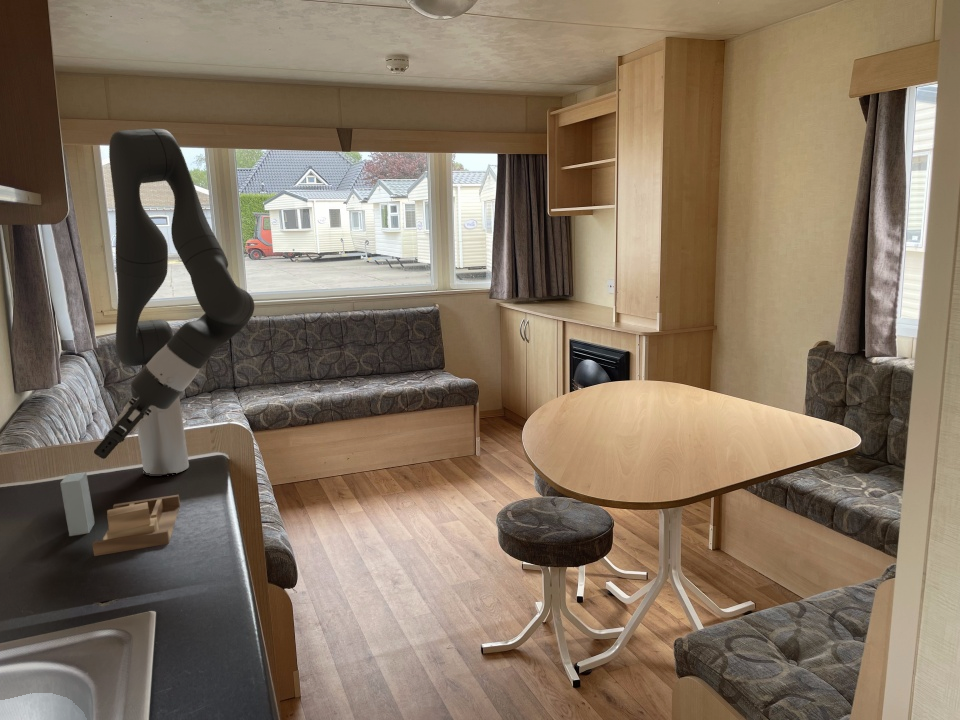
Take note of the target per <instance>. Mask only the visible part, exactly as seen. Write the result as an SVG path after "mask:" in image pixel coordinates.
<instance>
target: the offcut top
mask: <svg viewBox="0 0 960 720" xmlns="http://www.w3.org/2000/svg"><path fill="white" fill-rule="evenodd" d="M106 513H107V515H106V517H107V523H108V528H109V531H110V533H113V532H117V531H122V530H127V529H131V528H136V527H140V526H145V525H150V524H151V522H150V515H149V509H148V502H145V503H140V504H135V505H130V506H126V507H121V508H116V509H113V508H112V509H108V510H106Z"/></svg>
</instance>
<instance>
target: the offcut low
mask: <svg viewBox="0 0 960 720" xmlns="http://www.w3.org/2000/svg"><path fill="white" fill-rule="evenodd" d="M150 522H151V524H150V525H145V526H140V527H136V528H131V529H127V530H122V531H117V532H113V533H110V531H109V530H108V529H107V530H108V531H106V532H107V537H108V539H112V538H118V537H125V536H131V535H137V534H143V533H149V532H155V531H159V528H158V522H157V517H156V518H150Z"/></svg>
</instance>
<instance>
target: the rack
mask: <svg viewBox="0 0 960 720" xmlns="http://www.w3.org/2000/svg"><path fill="white" fill-rule="evenodd" d="M145 502H148V509H149V515H150V518H156V517H157V522H158V528H159V531H155V532H149V533H143V534H137V535H131V536H125V537H118V538H112V539H108V537H107V531H108V530H109V527H108V529H107V531H106V532H105V534H104V536H103V538H102V539H101V540H100V539H99V540H94V541H92V543H91V545H92V549H93V550H92V551H93V556H94V557H98V556H103V555H108V554H115V553H120V552H121V553H122V552H126V551H133V550H139V549H140V550H141V549H144V548H151V547H156V546H157V547H158V546H163V545H168V544H170V541H171V537H172V534H173V531H174V527H175V524H176V521H177V518H178V514H179V512H180V511H179V510H180V507H181V501H180V495H179V494H174V495H173V494H172V495H167V496H160V497H154V498H153V497H152V498H146V499H141V500H135V501H128V502H120V503H114V504H113V506H112V509H116V508H121V507H126V506H130V505H135V504H140V503H145Z"/></svg>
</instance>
